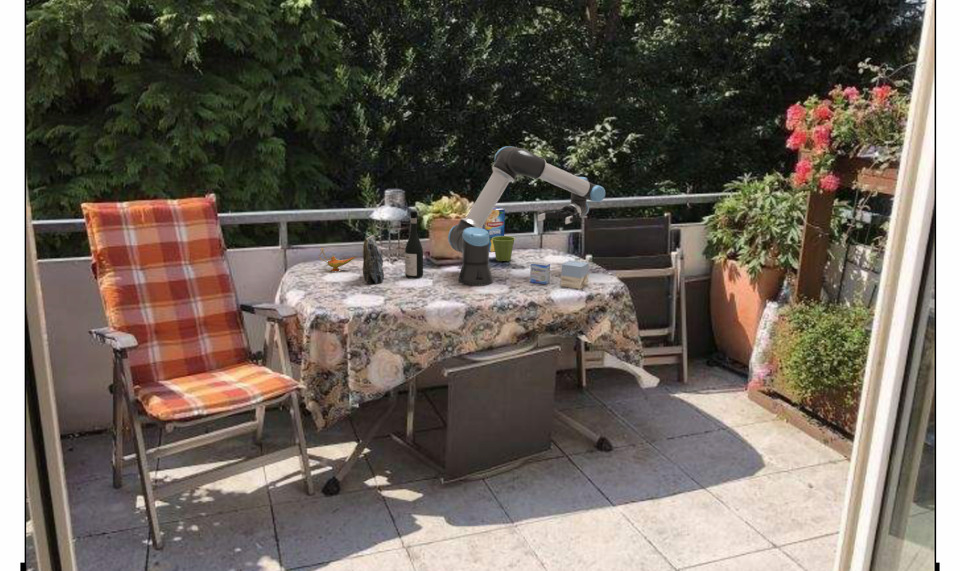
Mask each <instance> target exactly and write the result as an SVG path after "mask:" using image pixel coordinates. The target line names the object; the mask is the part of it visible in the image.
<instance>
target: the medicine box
mask: <svg viewBox="0 0 960 571" xmlns="http://www.w3.org/2000/svg"><path fill="white" fill-rule="evenodd" d="M550 274H551V263H544V262H543V263H542V262H532V263H531V264H530V274H529V283H531V284H539V285H548V284H550V277H551V275H550Z"/></svg>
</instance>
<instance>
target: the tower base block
mask: <svg viewBox="0 0 960 571" xmlns="http://www.w3.org/2000/svg"><path fill="white" fill-rule="evenodd" d="M560 280H561V283H560V286H561V287H566V288H573V289H579V290H580V289H582V288H584V287H586V286H587V285H588V284H589V273H588V274H587V275H585V276H584V277H582V278H576V277H569V276H562V275H561V276H560Z"/></svg>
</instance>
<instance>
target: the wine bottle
mask: <svg viewBox="0 0 960 571" xmlns="http://www.w3.org/2000/svg"><path fill="white" fill-rule="evenodd" d="M409 215H410V234H409V237H408V241H407V242H406V246H405V250H404V264H405V265H404V268H405V269H404V273H405V276H406V277H407V278H408V279H409V278H410V279H419V278H422V277H423V276H424V249H423V246H422V243H421V240H420V238H419V235H418V221H417V220H418V211H417V210H411V211H410V212H409Z"/></svg>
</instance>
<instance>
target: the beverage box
mask: <svg viewBox="0 0 960 571" xmlns="http://www.w3.org/2000/svg"><path fill="white" fill-rule="evenodd" d="M505 216H506V209H505V208H502V207H499V206H498V207H494V208H493V210H492V212H491V213H490V215H489V217H488V218H487V220H486V222H485V223H484V225H483V227H482V229H485V230H486V231H488V233H489V238H490V241H489V253H492V252H494V253H495V249H494V244H493V240H492V238H493V237H498V236H505V221H506V220H505V218H506V217H505Z"/></svg>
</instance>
